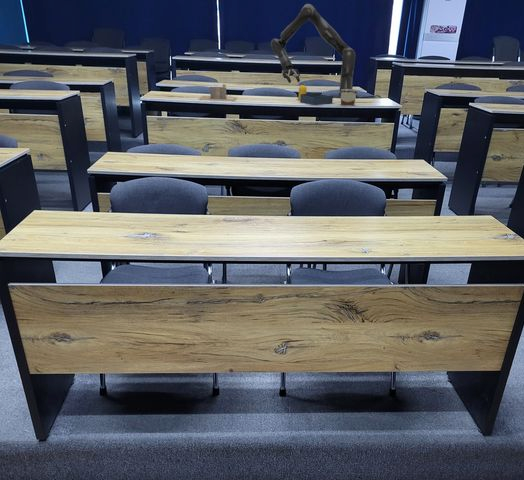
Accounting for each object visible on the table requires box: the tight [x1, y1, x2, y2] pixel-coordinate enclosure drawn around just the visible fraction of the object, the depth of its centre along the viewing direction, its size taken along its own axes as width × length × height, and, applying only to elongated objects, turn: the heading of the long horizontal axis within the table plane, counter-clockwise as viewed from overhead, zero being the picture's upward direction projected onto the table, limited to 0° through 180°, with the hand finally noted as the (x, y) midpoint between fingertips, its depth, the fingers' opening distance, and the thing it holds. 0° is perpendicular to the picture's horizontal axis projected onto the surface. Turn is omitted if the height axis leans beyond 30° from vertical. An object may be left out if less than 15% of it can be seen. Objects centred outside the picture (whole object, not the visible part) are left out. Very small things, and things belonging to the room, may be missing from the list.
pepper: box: [297, 83, 307, 101], centre depth 387 cm, size 6×6×11 cm
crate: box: [299, 92, 334, 106], centre depth 378 cm, size 18×16×5 cm
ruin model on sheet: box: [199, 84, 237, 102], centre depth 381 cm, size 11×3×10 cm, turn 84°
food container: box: [340, 88, 358, 107], centre depth 372 cm, size 12×6×10 cm, turn 84°
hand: (294, 81), depth 393 cm, fingers open, 8 cm apart
